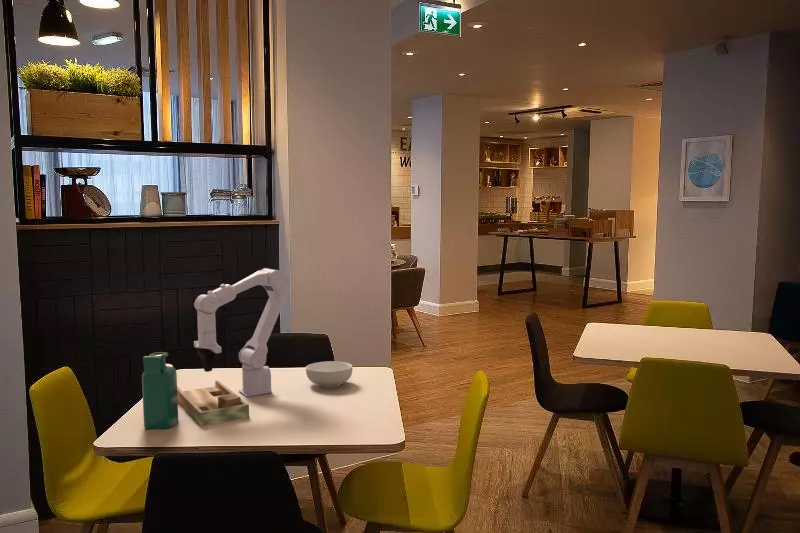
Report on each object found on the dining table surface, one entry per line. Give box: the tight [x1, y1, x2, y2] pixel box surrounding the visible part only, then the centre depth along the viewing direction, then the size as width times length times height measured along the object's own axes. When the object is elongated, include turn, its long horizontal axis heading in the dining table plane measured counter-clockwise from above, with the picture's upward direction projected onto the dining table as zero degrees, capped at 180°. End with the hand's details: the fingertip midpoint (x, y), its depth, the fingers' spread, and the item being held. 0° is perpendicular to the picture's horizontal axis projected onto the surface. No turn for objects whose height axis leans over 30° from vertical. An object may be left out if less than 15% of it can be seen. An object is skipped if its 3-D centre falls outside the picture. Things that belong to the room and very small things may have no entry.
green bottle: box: [141, 351, 179, 430], centre depth 198 cm, size 10×8×22 cm
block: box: [218, 394, 242, 409], centre depth 207 cm, size 5×5×4 cm
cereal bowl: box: [305, 360, 353, 389], centre depth 242 cm, size 17×17×7 cm
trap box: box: [177, 380, 250, 427], centre depth 216 cm, size 15×33×4 cm, turn 31°
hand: (208, 371), depth 222 cm, fingers closed
